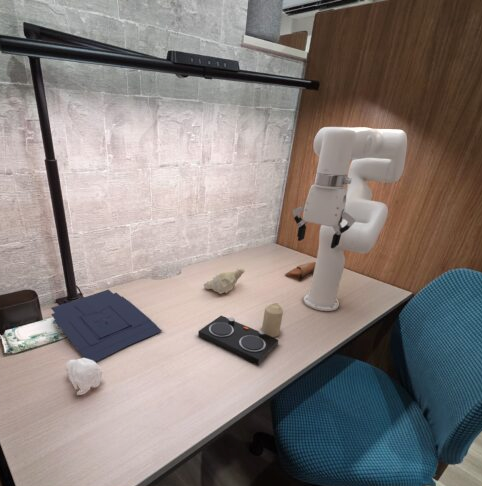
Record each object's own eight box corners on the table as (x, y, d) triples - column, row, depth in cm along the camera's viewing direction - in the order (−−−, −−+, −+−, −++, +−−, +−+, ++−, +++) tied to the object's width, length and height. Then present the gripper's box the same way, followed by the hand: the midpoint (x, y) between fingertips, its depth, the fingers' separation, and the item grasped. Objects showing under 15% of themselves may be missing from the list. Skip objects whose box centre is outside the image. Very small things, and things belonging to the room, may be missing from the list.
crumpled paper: (75, 372, 69) (52, 352, 76) (83, 403, 72) (60, 380, 80) (101, 359, 73) (77, 341, 80) (107, 389, 76) (84, 368, 84)
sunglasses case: (303, 264, 152) (312, 254, 147) (313, 274, 150) (323, 265, 145) (284, 274, 140) (293, 265, 135) (294, 286, 138) (304, 276, 133)
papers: (113, 294, 117) (113, 285, 115) (162, 337, 100) (163, 328, 98) (45, 316, 102) (44, 307, 100) (90, 372, 85) (89, 362, 83)
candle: (268, 325, 104) (272, 298, 99) (282, 332, 101) (287, 305, 96) (258, 331, 101) (262, 304, 96) (272, 339, 97) (277, 311, 92)
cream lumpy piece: (204, 302, 121) (236, 285, 113) (197, 285, 121) (228, 266, 114) (222, 298, 134) (252, 282, 126) (215, 283, 135) (244, 266, 127)
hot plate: (220, 320, 106) (221, 312, 104) (277, 345, 95) (279, 336, 93) (198, 336, 97) (198, 327, 96) (258, 365, 86) (259, 356, 84)
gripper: (368, 183, 81) (351, 247, 89) (304, 176, 90) (293, 234, 98) (360, 186, 76) (343, 254, 84) (293, 178, 85) (283, 240, 93)
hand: (316, 243), depth 91 cm, fingers open, 9 cm apart
